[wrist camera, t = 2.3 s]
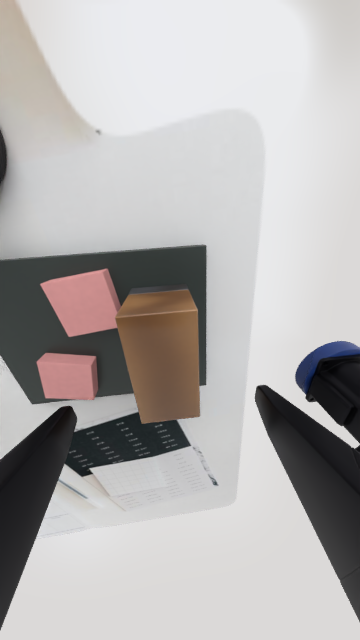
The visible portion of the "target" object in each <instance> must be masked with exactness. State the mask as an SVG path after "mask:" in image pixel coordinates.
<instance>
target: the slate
mask: <svg viewBox="0 0 360 640" xmlns="http://www.w3.org/2000/svg"><path fill="white" fill-rule="evenodd" d="M103 269H108V271H109V274H110V277H111V280H112V283H113V285H114V288H115V291H116V294H117V297H118V300H119V302H120V305H121V306H122V305H123V303H124V301H125V300H126V298H127V296H128V294H129V293H130V291H131V289H132V288H142V287H154V286H166V285H178V284H186V285H187V287H188V289H189V292H190V294H191V296H192V299H193V301H194V303H195V305H196V308H197V310H198V344H199V386H202V385H206V245H193V246H179V247H166V248H152V249H139V250H126V251H112V252H99V253H85V254H72V255H59V256H45V257H32V258H19V259H5V260H0V355H1V357H2V358H3V360H4V361H5V363H6V365H7V366H8V368H9V369H10V371H11V372H12V374H13V375H14V377H15V379H16V380H17V382H18V383H19V385H20V386H21V388H22V389H23V391H24V393H25V394H26V396H27V397H28V399H29V400H30V402H31V403H32V404H40V403H49V402H58V401H67V400H76V399H54V398H45V394H44V390H43V386H42V382H41V378H40V374H39V370H38V366H37V361H38V360H39V359H40V358H41V357H42V356H43V355H44V354H45V353H57V354H72V355H86V356H96V362H97V378H98V391H97V394H96V396H95V397H103V396H112V395H121V394H130V393H134V391H133V387H132V383H131V379H130V375H129V371H128V368H127V364H126V360H125V356H124V352H123V348H122V344H121V340H120V336H119V332H118V328H113V329H108V330H103V331H98V332H93V333H87V334H82V335H77V336H72V337H69V336H68V334H67V333H66V331H65V329H64V327H63V325H62V323H61V322H60V320H59V318H58V316H57V314H56V312H55V311H54V309H53V307H52V305H51V303H50V301H49V300H48V298H47V296H46V294H45V292H44V290H43V289H42V287H41V285H40V284H41V283H44V282H46V281H49V280H52V279H57V278H62V277H67V276H72V275H77V274H83V273H88V272H93V271H98V270H103Z"/></svg>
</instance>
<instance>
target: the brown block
mask: <svg viewBox="0 0 360 640" xmlns="http://www.w3.org/2000/svg"><path fill="white" fill-rule="evenodd" d="M115 320H116V324H117V328H118V332H119V336H120V340H121V344H122V348H123V352H124V356H125V360H126V364H127V368H128V371H129V375H130V379H131V383H132V387H133V391H134V395H135V399H136V403H137V407H138V411H139V415H140V419H141V423H152V422H160V421H168V420H177V419H185V418H194V417H200V392H199V344H198V310H197V308H196V305H195V303H194V301H193V299H192V296H191V294H190V292H189V289H188V287H187V285H186V284H178V285H166V286H154V287H142V288H132V289H131V291H130V293H129V294H128V296H127V298H126V300H125V301H124V303H123V305H122V306H121V308H120V310H119V311H118V313H117V315H116V316H115Z"/></svg>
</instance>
